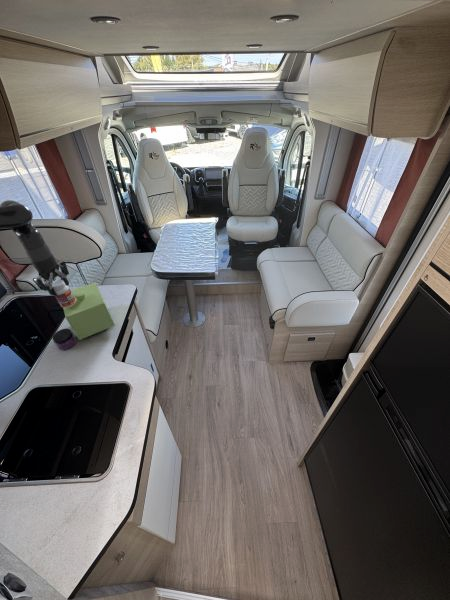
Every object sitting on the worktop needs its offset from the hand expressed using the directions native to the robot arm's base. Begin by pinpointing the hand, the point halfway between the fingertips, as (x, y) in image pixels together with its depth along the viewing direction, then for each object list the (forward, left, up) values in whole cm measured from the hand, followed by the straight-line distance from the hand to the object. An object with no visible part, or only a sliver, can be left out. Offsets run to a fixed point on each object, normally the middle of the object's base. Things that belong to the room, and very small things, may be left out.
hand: (60, 290), depth 106 cm
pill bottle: (0, 0, -8) cm, 8 cm away
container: (+1, +6, -27) cm, 27 cm away
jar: (-3, -8, -26) cm, 28 cm away
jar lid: (-3, -8, -21) cm, 23 cm away
